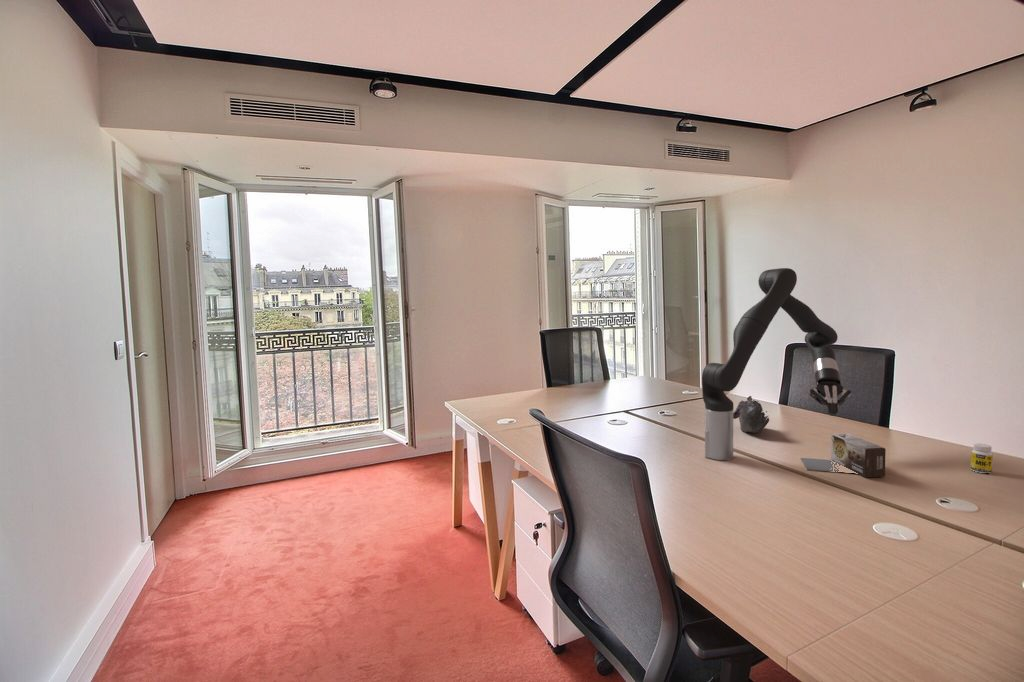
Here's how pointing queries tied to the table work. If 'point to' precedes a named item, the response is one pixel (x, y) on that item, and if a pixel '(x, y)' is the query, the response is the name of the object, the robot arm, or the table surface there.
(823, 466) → the grey flat sheet
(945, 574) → the table surface
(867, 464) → the coffee box
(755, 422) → the dark grey lumpy sculpture
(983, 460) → the supplement bottle
